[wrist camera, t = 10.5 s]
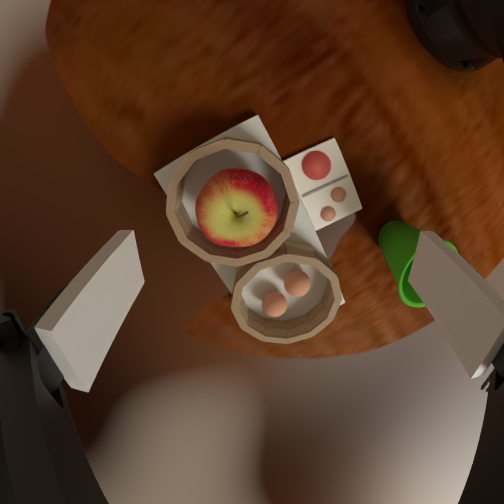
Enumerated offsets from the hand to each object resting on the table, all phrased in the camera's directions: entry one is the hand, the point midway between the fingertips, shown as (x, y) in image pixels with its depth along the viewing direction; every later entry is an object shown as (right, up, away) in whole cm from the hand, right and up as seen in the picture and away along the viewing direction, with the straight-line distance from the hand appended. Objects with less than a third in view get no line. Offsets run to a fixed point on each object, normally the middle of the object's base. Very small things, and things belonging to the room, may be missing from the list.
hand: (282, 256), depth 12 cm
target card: (+8, +9, +22) cm, 25 cm away
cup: (+19, +3, +25) cm, 32 cm away
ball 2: (+5, -3, +26) cm, 27 cm away
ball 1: (+2, -6, +28) cm, 28 cm away
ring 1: (-4, +7, +21) cm, 22 cm away
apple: (-3, +7, +21) cm, 23 cm away
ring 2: (+3, -5, +27) cm, 28 cm away
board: (0, +2, +25) cm, 25 cm away
